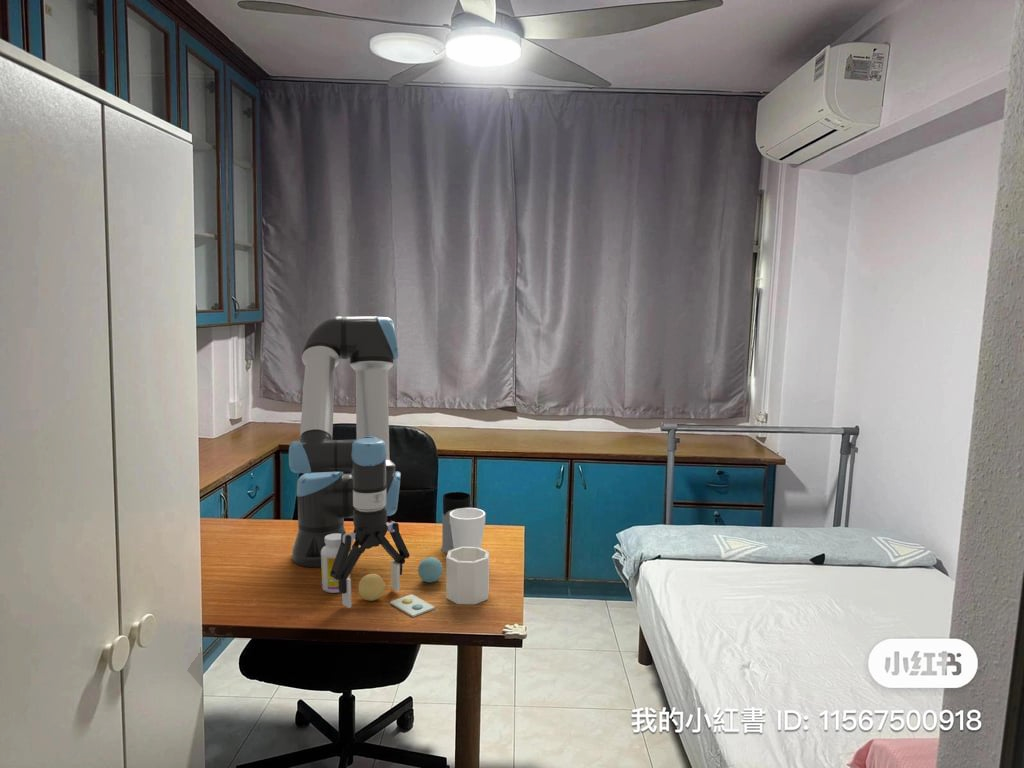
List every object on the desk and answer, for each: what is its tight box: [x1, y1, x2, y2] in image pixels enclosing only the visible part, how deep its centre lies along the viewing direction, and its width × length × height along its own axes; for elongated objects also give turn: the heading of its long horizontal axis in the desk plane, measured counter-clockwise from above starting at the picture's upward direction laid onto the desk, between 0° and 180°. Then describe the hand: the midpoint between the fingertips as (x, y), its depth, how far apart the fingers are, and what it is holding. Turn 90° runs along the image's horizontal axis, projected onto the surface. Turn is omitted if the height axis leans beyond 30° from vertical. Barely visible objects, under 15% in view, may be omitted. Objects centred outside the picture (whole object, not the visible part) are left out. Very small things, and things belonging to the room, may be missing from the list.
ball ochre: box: [358, 573, 386, 602], centre depth 164 cm, size 6×6×6 cm
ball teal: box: [417, 556, 444, 583], centre depth 174 cm, size 6×6×6 cm
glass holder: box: [440, 491, 471, 554], centre depth 197 cm, size 9×14×15 cm, turn 7°
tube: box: [445, 547, 490, 605], centre depth 166 cm, size 10×10×10 cm
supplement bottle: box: [320, 533, 351, 594], centre depth 169 cm, size 7×7×13 cm
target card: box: [389, 593, 436, 618], centre depth 161 cm, size 9×6×1 cm, turn 43°
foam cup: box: [450, 507, 486, 549], centre depth 186 cm, size 10×9×13 cm
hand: (371, 597), depth 164 cm, fingers open, 12 cm apart
